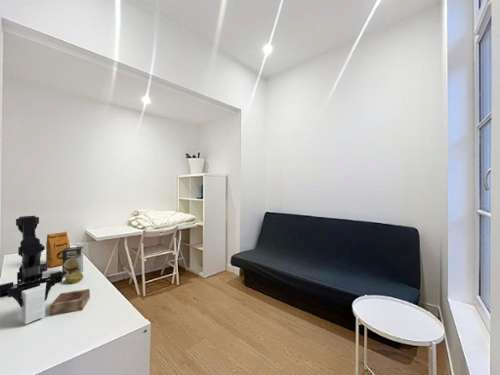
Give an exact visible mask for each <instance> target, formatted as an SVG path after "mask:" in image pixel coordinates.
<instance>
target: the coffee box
mask: <svg viewBox="0 0 500 375" xmlns="http://www.w3.org/2000/svg"><path fill="white" fill-rule="evenodd" d="M61 266H62V267H61V268H62V271H61V272H62V273H63V278H66V277H67V276H68V275H70V274H73V273H81V274H83V272H84V246H83V245H82V246H73V247H70V248H65V249H64V250H63V251H62V265H61Z"/></svg>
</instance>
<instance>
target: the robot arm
mask: <svg viewBox="0 0 500 375" xmlns="http://www.w3.org/2000/svg"><path fill="white" fill-rule="evenodd" d="M39 224H40V217H39V216H36V215H23V216H19V217H18V218H15V227H17V230H18V231H19V232H20V234H22V235H21V236H22V240H20V242H19V243H20V246H18V247H17V249H18V250H17V251H18V256H20V258H21V265H20V266H19V268H18V272H16V280H17V281H16V283H14V281H12V282H8V283H7V282H5V283H3V284H0V298H5V297H7V298H13V299H14V301H16V303H17V304H18V306H19V307H20V308H22V299H21V292H22V291H24V290H27V289H31V288H34V287H37V286H41V284H45V301H47V299H48V297H49V293H50V291H51V289H52V287H55V285H57V284H60V283H62V282H63V278H64V277H63V272H62V271H56V272H51V273H50V275H49V276H48V277H43V274H44V272H47V271H48V266H47V263H46V262H44V263H41V258H42V253H43V252H44V250H45V251H46V246H44V245H43V244H42V243H41V241H40V238H38V237H36V229H37V227H38V225H39Z"/></svg>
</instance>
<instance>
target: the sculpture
mask: <svg viewBox="0 0 500 375" xmlns="http://www.w3.org/2000/svg"><path fill="white" fill-rule="evenodd" d="M64 278H65V279H64V281H65V283H67V284H77V283H79V282H81V281H82V280H84V279H83V278H84V274H83V273H82V274H81V273H73V274H70V275H68V276H67V277H64Z"/></svg>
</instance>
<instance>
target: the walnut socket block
mask: <svg viewBox="0 0 500 375" xmlns="http://www.w3.org/2000/svg"><path fill="white" fill-rule="evenodd" d="M90 290H91V289H90V288H86V289H81V290H74V291H67V292H60V294H59V295H58V296H57V297H56V298H55V299H54V300H53V301H52V303H51V304H49V317H53V316H58V315H64V314H68V313H74V312H75V313H76V312H80V311H83V310H84V308H85V306H86V305H87V303H88V302H89V300H90V299H91V298H90V297H91V296H90Z"/></svg>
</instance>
